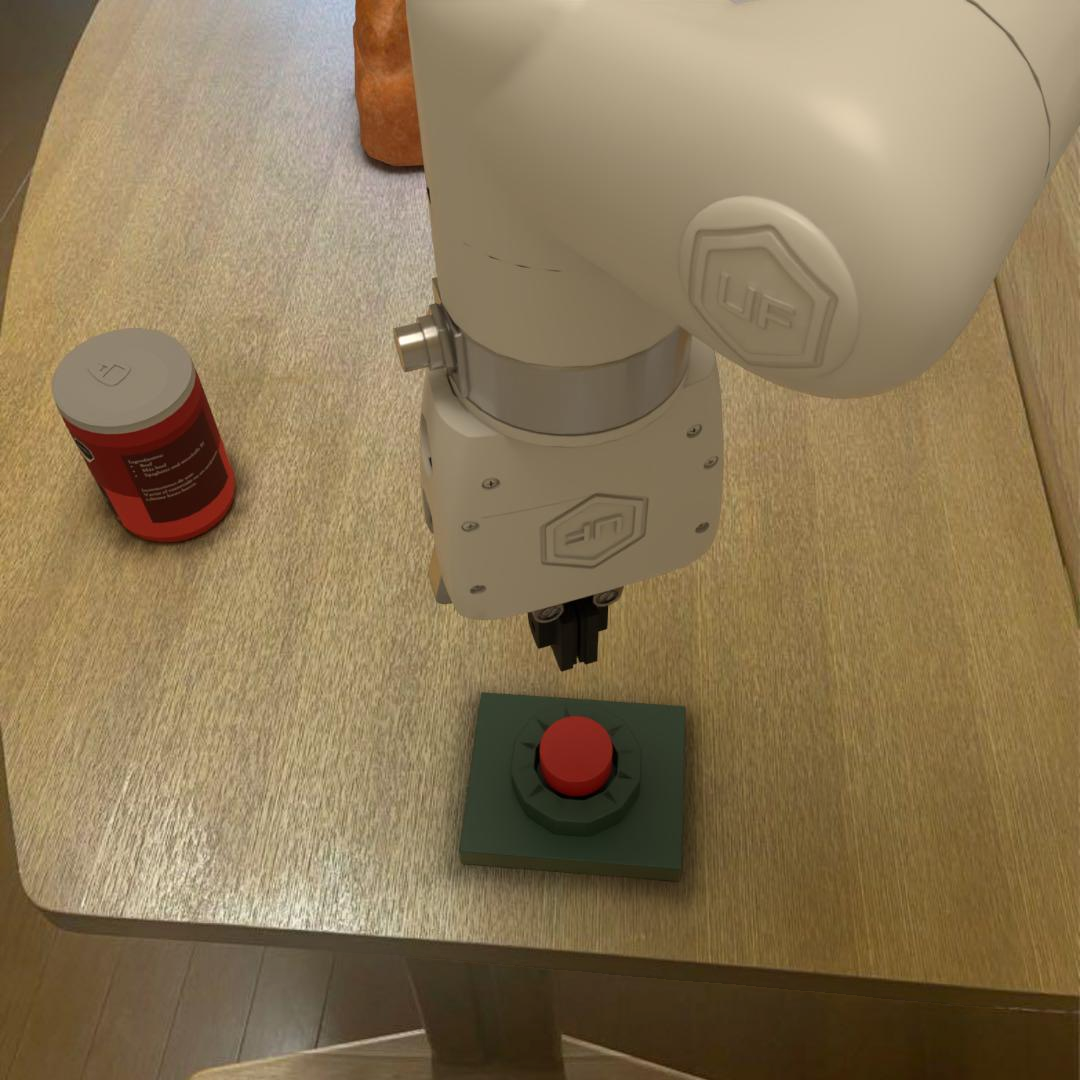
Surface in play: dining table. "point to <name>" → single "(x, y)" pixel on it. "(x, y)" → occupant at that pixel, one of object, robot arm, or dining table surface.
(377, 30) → the bread
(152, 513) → the canned food
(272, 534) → the dining table surface
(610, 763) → the button
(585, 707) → the button box
